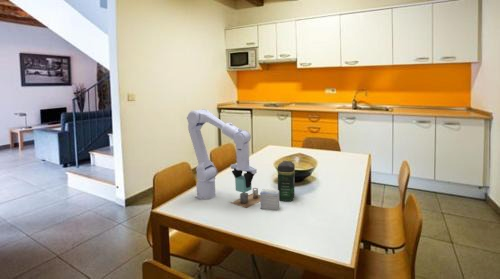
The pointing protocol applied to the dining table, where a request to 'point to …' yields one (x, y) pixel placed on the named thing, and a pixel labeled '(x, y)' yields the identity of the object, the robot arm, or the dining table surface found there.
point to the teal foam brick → (241, 184)
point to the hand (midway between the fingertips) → (243, 185)
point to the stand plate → (250, 201)
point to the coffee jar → (286, 181)
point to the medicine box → (269, 199)
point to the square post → (244, 198)
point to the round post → (255, 193)
